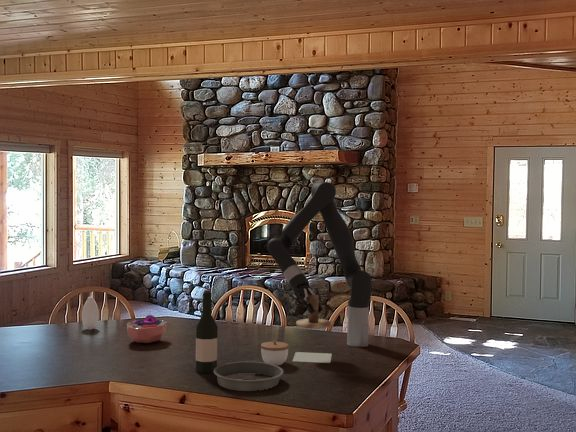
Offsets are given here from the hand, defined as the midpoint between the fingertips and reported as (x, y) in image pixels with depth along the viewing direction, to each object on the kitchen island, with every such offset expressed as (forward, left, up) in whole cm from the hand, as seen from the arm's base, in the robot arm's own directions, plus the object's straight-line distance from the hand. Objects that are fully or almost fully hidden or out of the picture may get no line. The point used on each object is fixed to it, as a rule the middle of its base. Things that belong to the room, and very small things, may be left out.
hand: (317, 311), depth 268 cm
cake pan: (+22, +36, -20) cm, 46 cm away
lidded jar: (+16, +11, -19) cm, 27 cm away
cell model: (+76, -16, -20) cm, 80 cm away
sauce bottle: (+110, -36, -19) cm, 117 cm away
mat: (+2, -1, -19) cm, 19 cm away
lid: (+1, -1, -6) cm, 6 cm away
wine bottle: (+40, +24, -19) cm, 50 cm away
